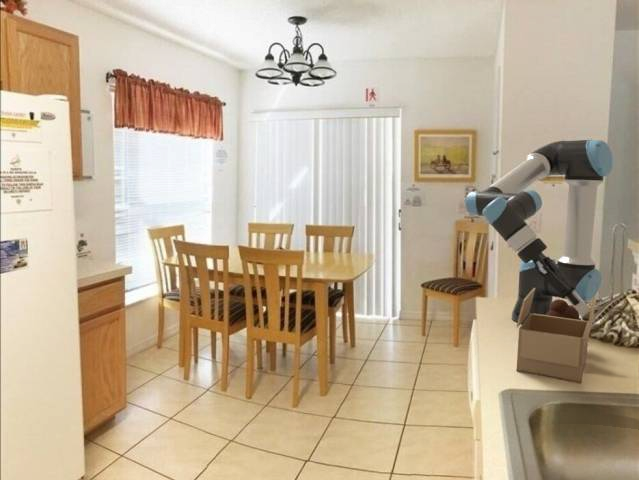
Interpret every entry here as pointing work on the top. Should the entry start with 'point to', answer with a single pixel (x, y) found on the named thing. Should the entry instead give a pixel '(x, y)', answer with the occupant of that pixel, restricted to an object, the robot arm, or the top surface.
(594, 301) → the carton flap
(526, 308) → the carton flap
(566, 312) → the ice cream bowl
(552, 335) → the carton
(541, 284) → the robot arm
